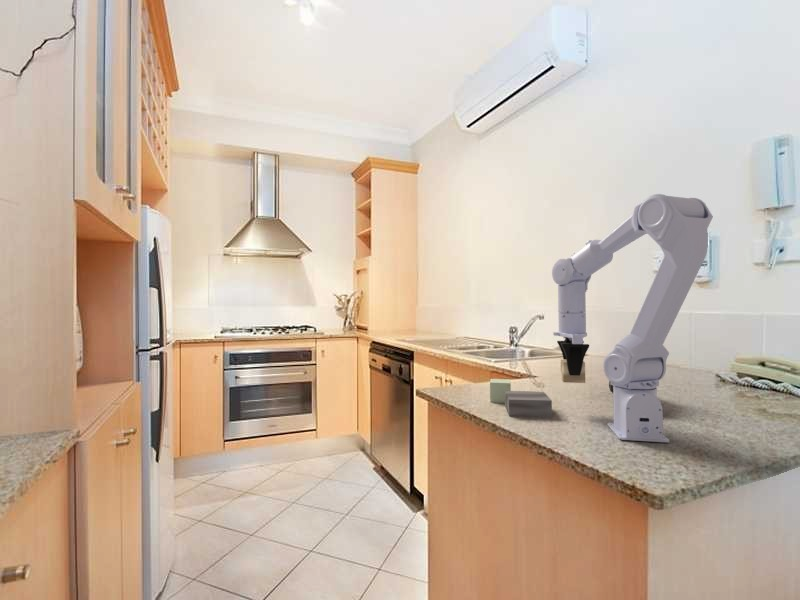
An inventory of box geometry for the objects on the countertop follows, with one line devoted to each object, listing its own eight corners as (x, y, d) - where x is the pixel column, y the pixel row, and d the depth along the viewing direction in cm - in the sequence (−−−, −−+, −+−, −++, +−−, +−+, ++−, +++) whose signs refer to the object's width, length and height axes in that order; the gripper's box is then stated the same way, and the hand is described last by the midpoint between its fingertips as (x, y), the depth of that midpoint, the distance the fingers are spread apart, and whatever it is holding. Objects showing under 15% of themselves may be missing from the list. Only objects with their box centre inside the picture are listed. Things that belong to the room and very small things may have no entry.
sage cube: (510, 403, 104) (510, 383, 104) (490, 402, 105) (490, 382, 105) (510, 398, 108) (510, 379, 108) (490, 397, 110) (490, 378, 110)
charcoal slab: (551, 419, 90) (551, 400, 90) (509, 417, 92) (509, 399, 92) (543, 408, 99) (543, 391, 99) (505, 407, 101) (504, 390, 101)
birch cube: (585, 383, 91) (585, 362, 91) (563, 382, 92) (563, 362, 92) (581, 379, 96) (581, 359, 96) (560, 378, 97) (560, 359, 97)
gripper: (549, 312, 102) (550, 367, 102) (557, 313, 88) (558, 378, 88) (580, 312, 100) (581, 368, 100) (593, 313, 86) (594, 379, 86)
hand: (572, 373), depth 94 cm, fingers closed on birch cube, 4 cm apart
